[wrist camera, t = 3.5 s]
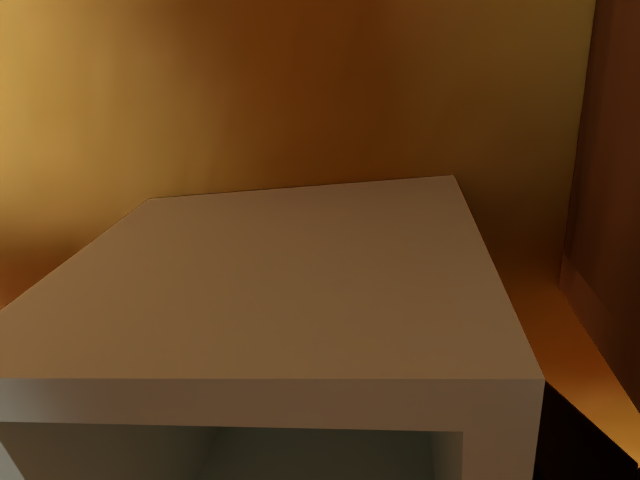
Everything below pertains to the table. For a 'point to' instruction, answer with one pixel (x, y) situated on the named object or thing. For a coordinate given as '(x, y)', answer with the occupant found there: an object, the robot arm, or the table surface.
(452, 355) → the small crate
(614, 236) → the big crate
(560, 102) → the table surface
